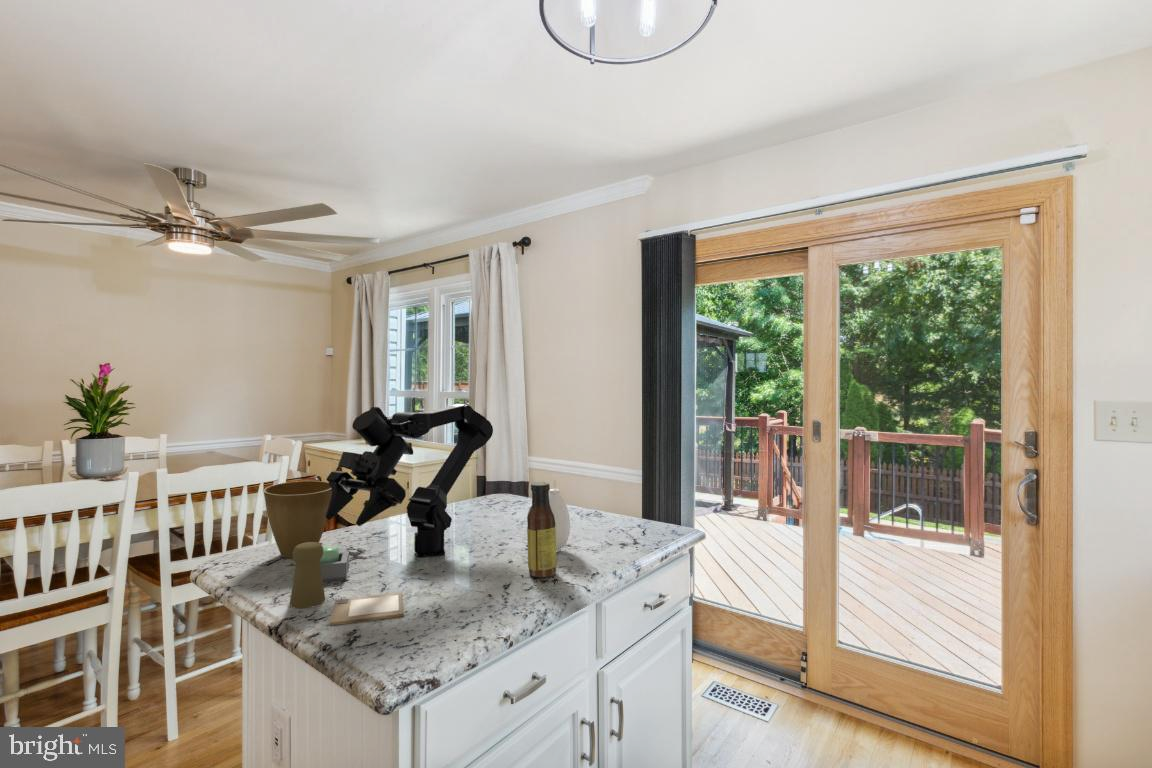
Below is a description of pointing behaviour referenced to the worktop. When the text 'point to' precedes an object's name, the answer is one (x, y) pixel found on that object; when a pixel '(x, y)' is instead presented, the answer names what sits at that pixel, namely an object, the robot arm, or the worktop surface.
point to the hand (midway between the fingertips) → (342, 521)
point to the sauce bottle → (541, 533)
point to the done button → (330, 554)
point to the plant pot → (297, 512)
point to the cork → (307, 576)
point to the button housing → (336, 568)
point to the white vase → (559, 517)
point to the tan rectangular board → (367, 608)
